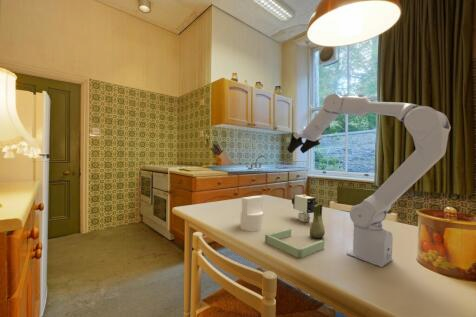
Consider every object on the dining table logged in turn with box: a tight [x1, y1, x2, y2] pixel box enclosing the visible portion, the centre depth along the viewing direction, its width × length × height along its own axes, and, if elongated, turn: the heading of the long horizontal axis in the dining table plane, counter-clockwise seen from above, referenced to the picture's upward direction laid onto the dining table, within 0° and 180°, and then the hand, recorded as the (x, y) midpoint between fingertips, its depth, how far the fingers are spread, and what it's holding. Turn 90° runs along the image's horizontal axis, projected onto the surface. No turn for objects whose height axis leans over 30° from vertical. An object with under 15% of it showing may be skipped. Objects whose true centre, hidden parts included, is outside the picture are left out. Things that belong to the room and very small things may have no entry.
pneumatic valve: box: [291, 193, 319, 223], centre depth 99 cm, size 6×12×12 cm, turn 29°
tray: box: [264, 228, 325, 259], centre depth 71 cm, size 14×12×2 cm
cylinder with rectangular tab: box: [239, 195, 264, 232], centre depth 88 cm, size 9×9×12 cm
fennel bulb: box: [309, 203, 326, 239], centre depth 79 cm, size 6×5×12 cm
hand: (295, 151), depth 87 cm, fingers open, 7 cm apart
